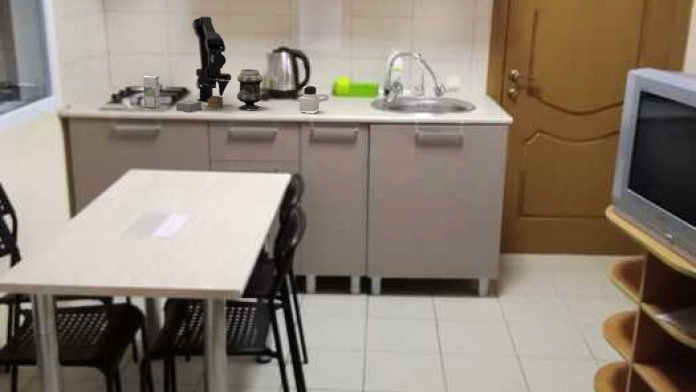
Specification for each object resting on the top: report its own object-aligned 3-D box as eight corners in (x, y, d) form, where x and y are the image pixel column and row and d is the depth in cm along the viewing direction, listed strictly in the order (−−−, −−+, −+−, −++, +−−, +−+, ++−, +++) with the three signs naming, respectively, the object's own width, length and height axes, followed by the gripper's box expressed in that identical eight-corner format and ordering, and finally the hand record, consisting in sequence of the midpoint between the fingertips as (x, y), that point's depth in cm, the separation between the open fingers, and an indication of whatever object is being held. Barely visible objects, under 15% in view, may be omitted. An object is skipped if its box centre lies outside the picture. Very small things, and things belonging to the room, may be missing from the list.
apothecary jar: (268, 108, 350) (268, 70, 345) (248, 111, 342) (247, 72, 336) (251, 104, 358) (251, 67, 352) (231, 107, 349) (231, 69, 344)
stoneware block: (188, 108, 346) (187, 99, 345) (201, 110, 342) (201, 101, 341) (176, 111, 339) (176, 102, 338) (190, 113, 336) (189, 104, 334)
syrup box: (160, 106, 347) (159, 75, 343) (156, 108, 342) (154, 76, 337) (148, 105, 348) (147, 74, 343) (144, 107, 342) (142, 76, 338)
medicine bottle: (319, 111, 348) (319, 86, 345) (313, 114, 342) (314, 88, 338) (305, 110, 351) (305, 84, 347) (299, 112, 344) (299, 86, 341)
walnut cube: (214, 106, 352) (213, 95, 350) (222, 107, 350) (222, 97, 348) (207, 107, 348) (207, 97, 346) (216, 109, 345) (216, 98, 344)
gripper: (212, 60, 354) (212, 92, 359) (187, 64, 338) (188, 98, 343) (231, 62, 349) (232, 95, 354) (207, 66, 333) (208, 100, 338)
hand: (215, 97), depth 347 cm, fingers open, 9 cm apart
